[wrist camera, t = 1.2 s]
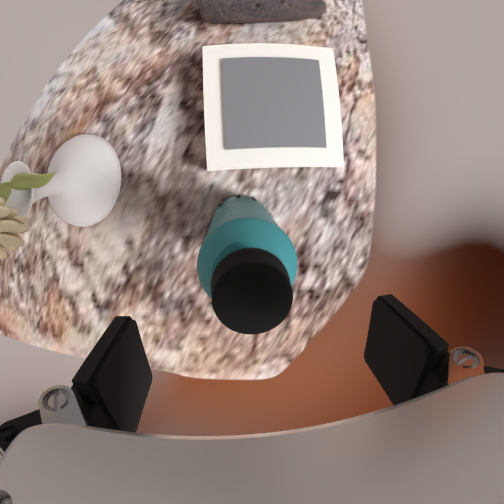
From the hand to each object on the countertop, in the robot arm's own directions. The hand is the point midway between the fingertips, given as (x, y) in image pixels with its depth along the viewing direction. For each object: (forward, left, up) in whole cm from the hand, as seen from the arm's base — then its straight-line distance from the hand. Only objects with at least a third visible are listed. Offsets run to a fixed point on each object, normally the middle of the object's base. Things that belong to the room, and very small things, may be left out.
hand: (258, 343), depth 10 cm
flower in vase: (-7, -18, -23) cm, 30 cm away
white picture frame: (-13, +4, -23) cm, 27 cm away
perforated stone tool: (-27, +4, -23) cm, 36 cm away
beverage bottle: (0, 0, -23) cm, 23 cm away
